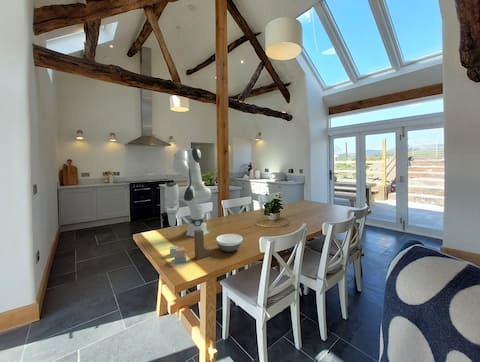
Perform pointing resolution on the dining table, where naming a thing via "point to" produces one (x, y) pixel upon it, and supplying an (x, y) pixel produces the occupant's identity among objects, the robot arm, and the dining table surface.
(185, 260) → the slate blue block
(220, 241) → the bowl
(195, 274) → the dining table surface
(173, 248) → the sage green cube
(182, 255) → the pinkish brown cube
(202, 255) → the wooden block
